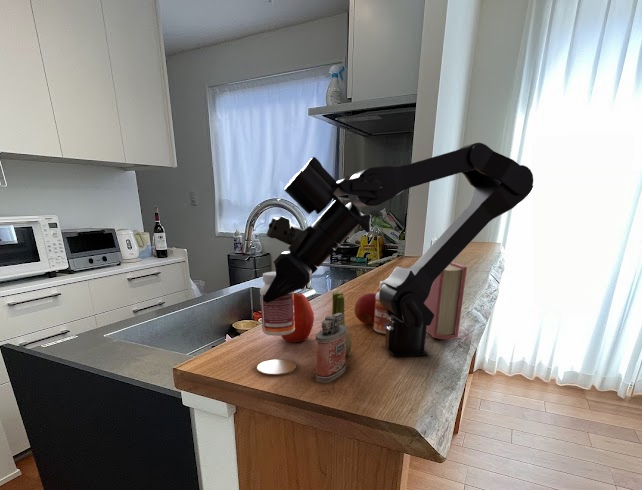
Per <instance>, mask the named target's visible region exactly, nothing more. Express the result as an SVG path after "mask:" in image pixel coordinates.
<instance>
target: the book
mask: <svg viewBox="0 0 642 490" xmlns="http://www.w3.org/2000/svg"><path fill="white" fill-rule="evenodd" d="M467 270H468V266H466V265H462V264H459V263H456V262H453V261H452V262H451V263H450V265H449V266H448V267H447V268H446V269H445V270H444V271H443V272H442V273H441V274H440V275H439V276H438V277H437V278H436V279H435V281H434V282H433V285H432V288H431V291H430V294H429V297H428V298H427V299H426V301H425V302H424V304H425V305H426V306H427V307H428V308H429V309H430V310H431V311H432V313H433V314H434V317H433V320H432V322H431V324H430V325H429V326H427V328H426V335H431V337H432V338H435V339H439V340H452V339H456V338H459V330H460V323H461V322H460V321H461V316H462V315H461V314H462V309H463V301H464V293H465V286H466V277H467Z"/></svg>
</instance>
